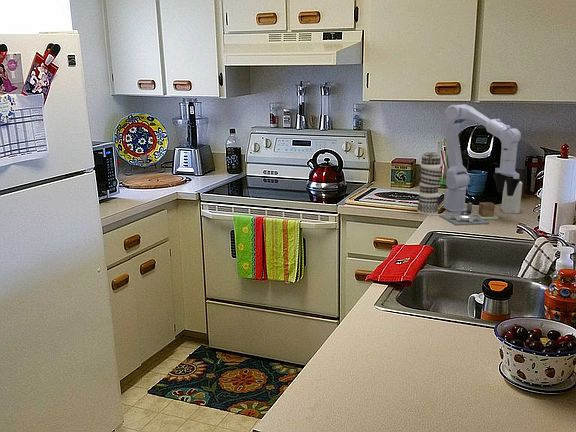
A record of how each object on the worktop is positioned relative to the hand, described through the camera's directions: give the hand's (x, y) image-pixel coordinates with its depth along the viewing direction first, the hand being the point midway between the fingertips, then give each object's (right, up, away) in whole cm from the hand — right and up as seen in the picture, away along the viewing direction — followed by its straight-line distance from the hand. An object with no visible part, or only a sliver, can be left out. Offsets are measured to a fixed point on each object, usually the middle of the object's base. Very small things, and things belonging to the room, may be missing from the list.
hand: (505, 193), depth 243 cm
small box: (+8, -7, +17) cm, 20 cm away
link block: (-6, -9, +6) cm, 12 cm away
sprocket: (-16, -10, 0) cm, 19 cm away
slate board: (-16, -10, +1) cm, 19 cm away
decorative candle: (-28, -7, +13) cm, 32 cm away
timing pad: (-6, -9, +6) cm, 12 cm away
